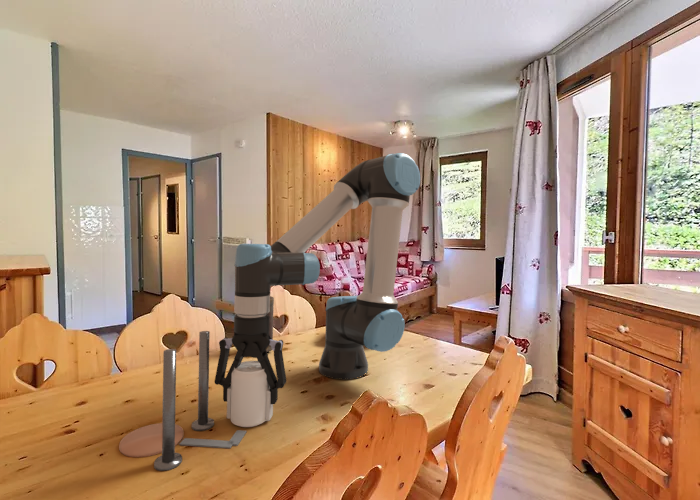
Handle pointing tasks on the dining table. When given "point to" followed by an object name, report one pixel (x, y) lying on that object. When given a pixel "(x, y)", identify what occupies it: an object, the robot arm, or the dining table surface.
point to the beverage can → (248, 394)
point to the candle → (271, 322)
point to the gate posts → (169, 396)
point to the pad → (146, 441)
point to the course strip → (215, 441)
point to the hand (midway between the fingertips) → (250, 416)
